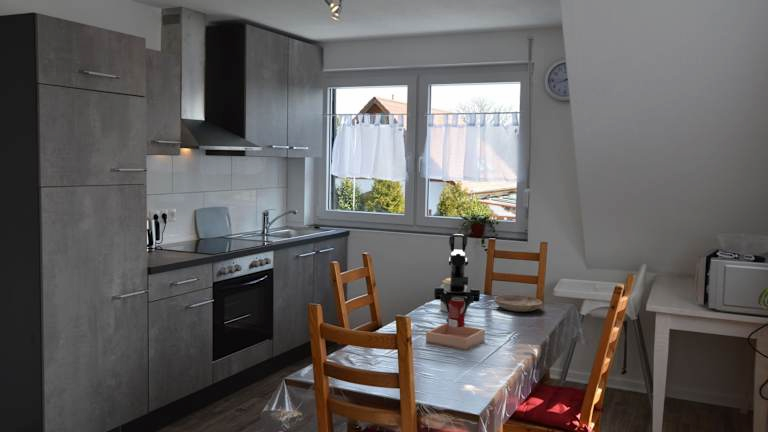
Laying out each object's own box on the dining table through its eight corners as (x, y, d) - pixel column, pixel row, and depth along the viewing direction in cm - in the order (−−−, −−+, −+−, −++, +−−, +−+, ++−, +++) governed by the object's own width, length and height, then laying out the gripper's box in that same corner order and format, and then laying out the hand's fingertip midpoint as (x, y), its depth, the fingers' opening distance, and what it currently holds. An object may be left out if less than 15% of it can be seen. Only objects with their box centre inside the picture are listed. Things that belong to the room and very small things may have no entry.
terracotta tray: (425, 342, 280) (426, 332, 280) (445, 333, 295) (446, 323, 295) (466, 350, 271) (466, 339, 270) (484, 340, 286) (484, 329, 286)
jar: (470, 309, 340) (472, 274, 338) (459, 314, 329) (460, 278, 327) (447, 305, 347) (448, 271, 345) (435, 310, 336) (436, 275, 334)
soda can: (456, 330, 278) (458, 301, 277) (444, 326, 283) (445, 298, 281) (467, 327, 283) (469, 299, 281) (454, 324, 287) (456, 296, 286)
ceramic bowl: (513, 316, 328) (514, 306, 327) (484, 306, 348) (485, 296, 348) (551, 312, 338) (552, 302, 338) (521, 302, 359) (521, 292, 358)
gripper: (435, 268, 285) (433, 300, 275) (480, 270, 283) (480, 302, 273) (435, 283, 294) (433, 314, 284) (479, 285, 292) (479, 317, 282)
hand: (456, 312), depth 281 cm, fingers closed on soda can, 6 cm apart
